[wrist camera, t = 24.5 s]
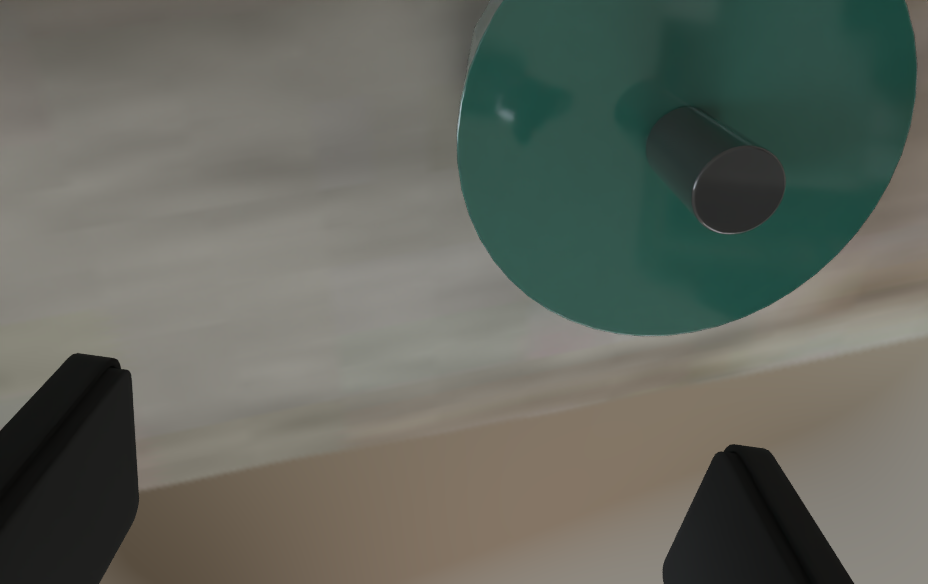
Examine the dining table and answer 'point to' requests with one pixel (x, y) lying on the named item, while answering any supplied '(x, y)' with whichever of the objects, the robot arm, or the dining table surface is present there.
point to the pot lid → (679, 149)
